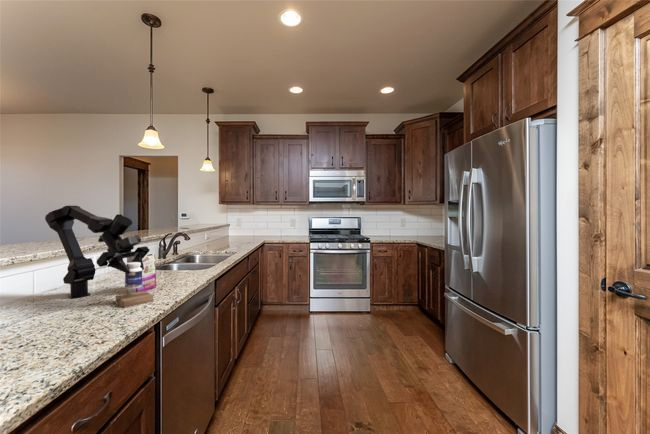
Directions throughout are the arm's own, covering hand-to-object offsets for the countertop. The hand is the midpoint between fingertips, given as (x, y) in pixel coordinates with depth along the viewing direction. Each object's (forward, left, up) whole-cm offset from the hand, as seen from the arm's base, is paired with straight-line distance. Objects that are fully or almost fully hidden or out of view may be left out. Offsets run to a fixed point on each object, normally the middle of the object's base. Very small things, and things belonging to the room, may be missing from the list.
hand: (136, 271), depth 112 cm
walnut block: (-1, 0, -12) cm, 12 cm away
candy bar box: (-17, +8, -13) cm, 23 cm away
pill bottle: (-1, -1, -7) cm, 7 cm away
